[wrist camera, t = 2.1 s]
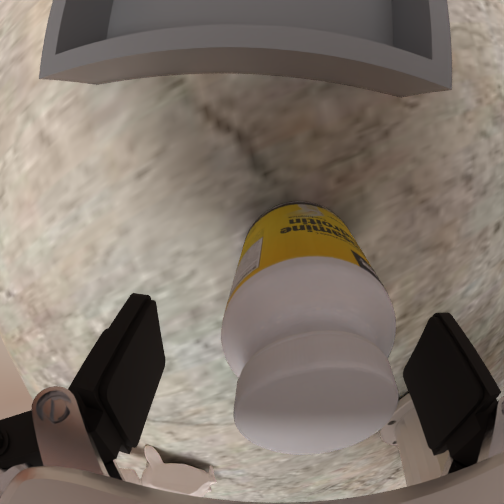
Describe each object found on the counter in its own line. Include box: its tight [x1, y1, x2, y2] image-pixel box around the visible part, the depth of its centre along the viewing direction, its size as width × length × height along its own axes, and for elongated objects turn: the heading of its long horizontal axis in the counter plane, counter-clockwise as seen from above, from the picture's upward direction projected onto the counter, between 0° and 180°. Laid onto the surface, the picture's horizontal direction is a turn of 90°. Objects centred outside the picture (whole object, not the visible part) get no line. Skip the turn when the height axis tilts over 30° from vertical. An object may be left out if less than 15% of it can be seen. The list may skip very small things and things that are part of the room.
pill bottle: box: [221, 202, 399, 455], centre depth 12 cm, size 6×6×12 cm
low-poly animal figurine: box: [119, 445, 217, 497], centre depth 29 cm, size 9×8×15 cm
